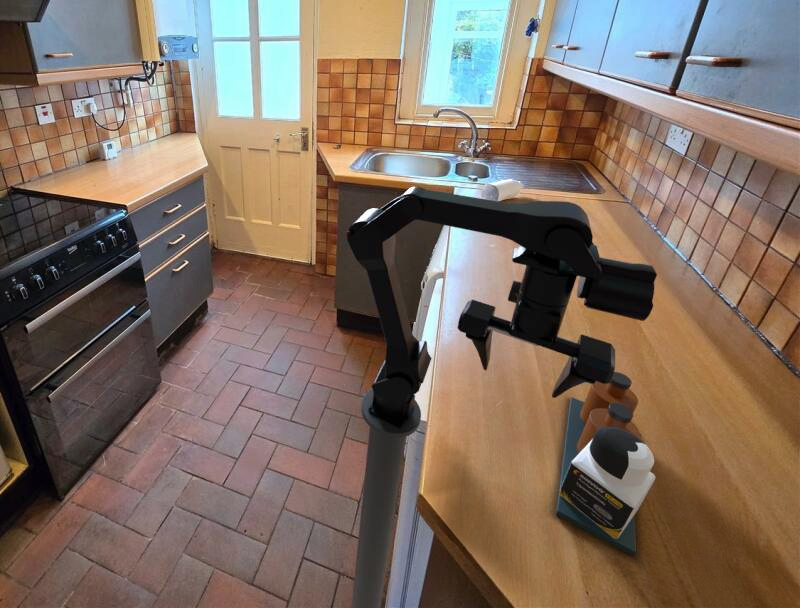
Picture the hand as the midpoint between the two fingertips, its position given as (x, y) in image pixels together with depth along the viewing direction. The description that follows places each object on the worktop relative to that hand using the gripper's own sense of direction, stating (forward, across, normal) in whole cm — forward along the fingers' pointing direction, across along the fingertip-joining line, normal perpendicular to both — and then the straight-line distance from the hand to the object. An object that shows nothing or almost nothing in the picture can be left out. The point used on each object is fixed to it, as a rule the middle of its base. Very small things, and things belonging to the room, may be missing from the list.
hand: (518, 381), depth 61 cm
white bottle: (+13, +23, -120) cm, 123 cm away
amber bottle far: (+12, -13, -12) cm, 22 cm away
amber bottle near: (+12, -13, -5) cm, 18 cm away
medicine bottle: (+12, -13, +3) cm, 18 cm away
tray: (+13, -13, -4) cm, 19 cm away
